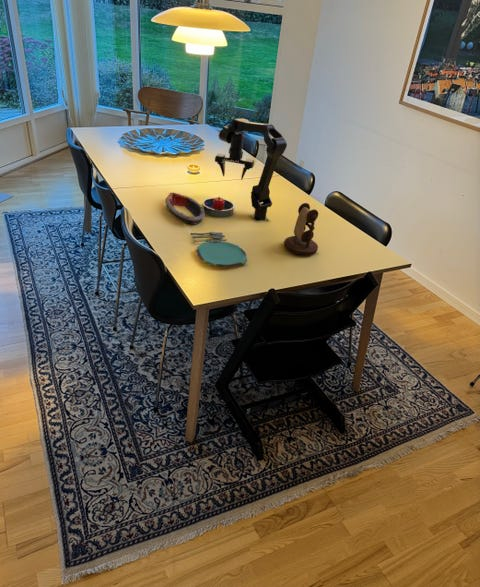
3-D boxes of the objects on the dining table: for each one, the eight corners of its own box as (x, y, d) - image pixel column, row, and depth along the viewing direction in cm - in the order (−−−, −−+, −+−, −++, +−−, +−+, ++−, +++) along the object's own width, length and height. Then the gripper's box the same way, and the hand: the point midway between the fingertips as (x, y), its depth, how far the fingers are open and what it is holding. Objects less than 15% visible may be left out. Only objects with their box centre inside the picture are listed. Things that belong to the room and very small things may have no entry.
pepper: (224, 212, 216) (226, 199, 212) (214, 213, 214) (215, 199, 210) (221, 208, 220) (222, 194, 216) (210, 208, 218) (212, 195, 214)
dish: (179, 228, 197) (180, 218, 194) (158, 201, 219) (158, 191, 216) (211, 226, 203) (212, 215, 200) (188, 199, 225) (188, 190, 223)
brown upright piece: (277, 242, 198) (285, 200, 187) (305, 240, 203) (315, 198, 193) (293, 258, 187) (303, 214, 176) (323, 255, 193) (334, 212, 182)
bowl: (238, 217, 215) (239, 209, 213) (208, 219, 209) (208, 211, 207) (226, 204, 226) (227, 197, 224) (197, 206, 220) (198, 198, 218)
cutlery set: (204, 271, 169) (204, 266, 168) (185, 235, 192) (185, 230, 191) (252, 268, 176) (253, 263, 175) (229, 233, 199) (229, 229, 197)
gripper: (258, 145, 220) (253, 176, 228) (221, 139, 221) (218, 170, 230) (254, 151, 210) (249, 183, 219) (216, 144, 212) (213, 176, 221)
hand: (232, 177), depth 222 cm, fingers open, 9 cm apart
